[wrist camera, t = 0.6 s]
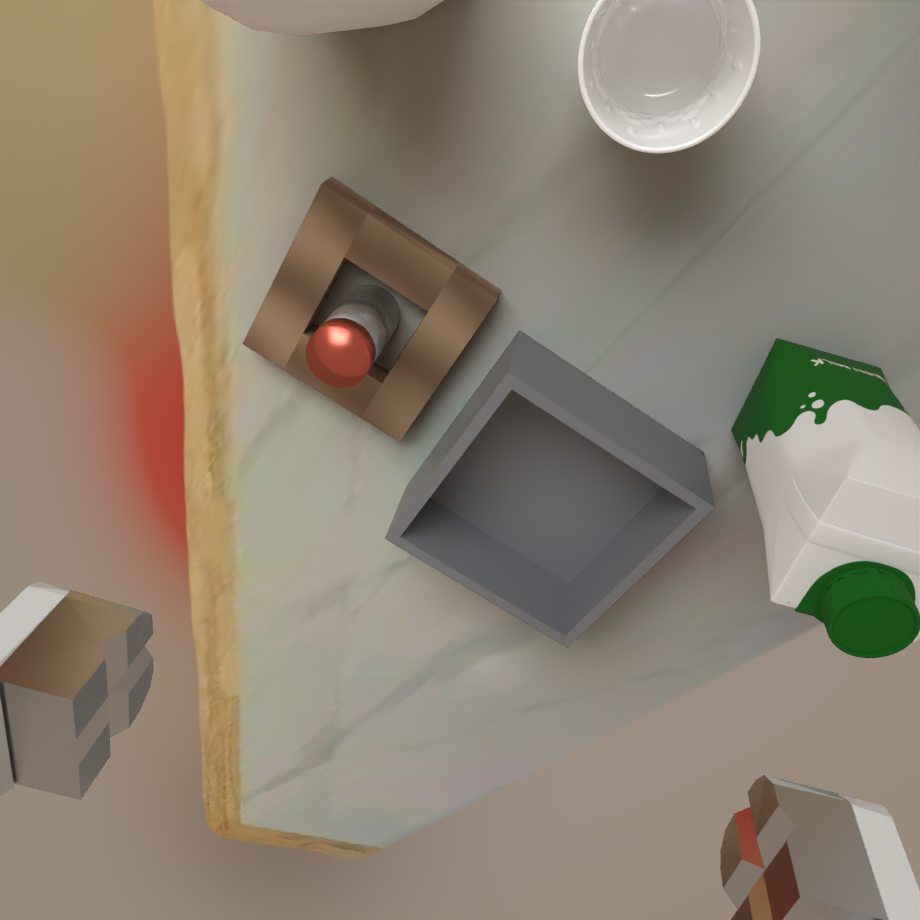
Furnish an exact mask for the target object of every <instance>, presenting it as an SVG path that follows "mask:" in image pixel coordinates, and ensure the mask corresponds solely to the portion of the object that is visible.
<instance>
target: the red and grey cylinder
mask: <svg viewBox="0 0 920 920" xmlns="http://www.w3.org/2000/svg"><path fill="white" fill-rule="evenodd" d="M399 320H400V310H399V307H398V304H397V302H396V300H395V299H394V297H393V296H392V295H391V294H390V293H389V292H388V291H387V290H385V289H383V288H382V287H379V286H376V285H362V286H359V287H357V288H355V289H353V290H352V291H351V292H350V293H349V294H348V295H347V297H346V298H345V299H344V300H343V301H342V302H341V303H340V305H339V306H338V307H337V308H336V309H335V310H334V311H333V312H332V314H331V315H330V316H329V317H328V318H327V319H326V320H325V321H324V323H323V324H322V325H321V326H320V327H319V328H318V329H317V330H316V332H315V333H314V334H313V335H312V336H311V337H310V339H309V341H308V343H307V346H306V359H307V363H308V365H309V367H310V369H311V371H312V372H313V373H314V375H315V376H316V377H317V378H318V379H320V380H321V381H322V382H324V383H326V384H328V385H330V386H333V387H338V388H347V387H351V386H354V385H356V384H358V383H359V382H361V381H362V380H363V379H364V377H365V376H366V374H367V373H368V371H369V370H370V368H371V367H372V365H373V364H374V362H375V361H376V359H377V358H378V356H379V354H380V353H381V351H382V350H383V348H384V347H385V345H386V344H387V342H388V341H389V339H390V338H391V336H392V334H393V333H394V331H395V330H396V328H397V326H398V324H399Z"/></svg>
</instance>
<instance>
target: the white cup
mask: <svg viewBox="0 0 920 920" xmlns="http://www.w3.org/2000/svg"><path fill="white" fill-rule="evenodd" d="M760 48H761V35H760V26H759V20H758V16H757V12H756V9H755V7H754V4H753V2H752V0H599V1H598V2H597V4H596V5H595V7H594V9H593V10H592V12H591V14H590V16H589V18H588V21H587V23H586V25H585V28H584V31H583V34H582V38H581V42H580V47H579V54H578V78H579V85H580V90H581V94H582V97H583V100H584V102H585V105H586V107H587V109H588V111H589V113H590V115H591V116H592V118H593V120H594V121H595V122H596V124H597V125H598V126H599V127H600V128H601V129H602V130H603V131H604V132H605V133H606V134H607V135H608V136H609V137H610V138H612V139H613V140H615V141H616V142H618V143H619V144H621V145H623V146H625V147H628V148H630V149H633V150H636V151H640V152H645V153H671V152H676V151H680V150H684V149H687V148H690V147H692V146H694V145H697V144H699V143H701V142H702V141H704V140H706V139H707V138H709V137H711V136H712V135H713V134H715V133H716V132H717V131H719V130H720V129H721V128H722V127H723V126H724V125H725V124H726V123H727V122H728V121H729V120H730V119H731V118H732V117H733V116H734V114H735V113H736V112H737V110H738V109H739V108H740V106H741V105H742V103H743V102H744V100H745V98H746V96H747V94H748V92H749V90H750V88H751V86H752V83H753V81H754V78H755V75H756V72H757V68H758V63H759V58H760Z"/></svg>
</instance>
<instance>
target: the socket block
mask: <svg viewBox="0 0 920 920" xmlns="http://www.w3.org/2000/svg"><path fill="white" fill-rule="evenodd" d="M347 259H348V260H349V261H351V262H352V263H354V264H355V265H357V266H358V267H360V268H361V269H363V270H365V271H366V272H368V273H369V274H371V275H372V276H374V277H375V278H377V279H378V280H380V281H381V282H383V283H384V284H386V285H387V286H389V287H391V288H392V289H394V290H395V291H397V292H398V293H400V294H401V295H403V296H404V297H406V298H407V299H409V300H410V301H412V302H413V303H415V304H416V305H418V306H420V307H421V308H423V309H424V310H426V311H427V313H426V315H425V317H424V318H423V320H422V321H421V323H420V324H419V326H418V328H417V329H416V331H415V332H414V334H413V335H412V337H411V339H410V340H409V342H408V343H407V345H406V346H405V348H404V350H403V351H402V353H401V354H400V356H399V357H398V359H397V361H396V362H395V364H394V365H393V367H392V368H391V370H390V372H388V371H387V370H385V369H384V368H382V367H381V366H379V365H377V364H376V363H374V364H373V365H372V367H371V368H370V370H369V371H368V373H367V374H366V376H365V377H364V379H363V380H362V381H361V382H359V383H358V384H356V385H354V386H351V387H347V388H338V387H333V386H330V385H328V384H326V383H324V382H322V381H321V380H320V379H318V378H317V377H316V376H315V375H314V373H313V372H312V371H311V369H310V367H309V365H308V363H307V359H306V346H307V343H308V341H309V339H310V337H311V336H312V335H313V334H314V333H315V332H316V330H317V329H318V328H319V327H318V326H316V325H314V324H313V321H314V319H315V317H316V316H317V314H318V312H319V310H320V308H321V306H322V305H323V303H324V301H325V299H326V297H327V295H328V294H329V292H330V290H331V288H332V286H333V284H334V283H335V281H336V279H337V277H338V275H339V273H340V272H341V270H342V268H343V266H344V264H345V262H346V260H347ZM500 291H501V290H500V289H498V288H497V287H495V286H494V285H492V284H491V283H489V282H488V281H486V280H485V279H483V278H482V277H480V276H479V275H477V274H476V273H474V272H473V271H471V270H470V269H468V268H467V267H465V266H464V265H462V264H461V263H459V262H458V261H456V260H455V259H453V258H452V257H450V256H449V255H447V254H446V253H444V252H443V251H441V250H440V249H438V248H437V247H435V246H434V245H432V244H431V243H430V242H428V241H427V240H425V239H424V238H422V237H421V236H419V235H418V234H416V233H415V232H413V231H412V230H410V229H409V228H407V227H406V226H404V225H403V224H401V223H400V222H398V221H397V220H395V219H394V218H392V217H391V216H389V215H388V214H386V213H385V212H383V211H382V210H380V209H379V208H377V207H376V206H374V205H373V204H371V203H370V202H368V201H367V200H365V199H364V198H362V197H361V196H359V195H358V194H356V193H355V192H354V191H352V190H351V189H349V188H348V187H346V186H345V185H343V184H342V183H340V182H339V181H337V180H336V179H334V178H333V177H331V178H329V179H328V180H326V181H325V182H323V183H322V184H321V186H320V188H319V190H318V192H317V194H316V196H315V198H314V200H313V202H312V204H311V206H310V208H309V210H308V212H307V214H306V216H305V218H304V220H303V222H302V224H301V226H300V229H299V231H298V233H297V235H296V237H295V239H294V241H293V243H292V245H291V247H290V249H289V251H288V253H287V255H286V257H285V259H284V261H283V263H282V265H281V267H280V269H279V271H278V273H277V275H276V277H275V279H274V281H273V283H272V285H271V287H270V289H269V291H268V293H267V295H266V297H265V299H264V301H263V303H262V305H261V307H260V309H259V311H258V313H257V316H256V318H255V320H254V322H253V324H252V326H251V328H250V330H249V332H248V334H247V336H246V338H245V340H244V342H243V344H244V345H245V346H247V347H248V348H250V349H252V350H253V351H255V352H256V353H258V354H260V355H261V356H263V357H265V358H266V359H268V360H269V361H271V362H273V363H274V364H276V365H277V366H279V367H281V368H282V369H284V370H285V371H287V372H289V373H290V374H292V375H293V376H295V377H297V378H298V379H300V380H302V381H303V382H305V383H306V384H308V385H310V386H311V387H313V388H314V389H316V390H318V391H319V392H321V393H322V394H324V395H326V396H327V397H329V398H331V399H332V400H334V401H335V402H337V403H339V404H340V405H342V406H343V407H345V408H347V409H348V410H350V411H351V412H353V413H355V414H356V415H358V416H360V417H361V418H363V419H364V420H366V421H368V422H369V423H371V424H372V425H374V426H376V427H377V428H379V429H380V430H382V431H384V432H385V433H387V434H388V435H390V436H392V437H393V438H395V439H397V440H398V441H400V440H401V439H402V438H403V436H404V435H405V433H406V432H407V430H408V429H409V427H410V426H411V424H412V423H413V422H414V420H415V419H416V417H417V416H418V414H419V413H420V411H421V410H422V408H423V407H424V406H425V404H426V403H427V401H428V400H429V398H430V397H431V395H432V394H433V392H434V391H435V390H436V388H437V387H438V385H439V384H440V382H441V381H442V379H443V378H444V376H445V375H446V374H447V372H448V371H449V369H450V368H451V366H452V365H453V363H454V362H455V360H456V359H457V358H458V356H459V355H460V353H461V352H462V350H463V349H464V347H465V346H466V344H467V343H468V342H469V340H470V339H471V337H472V336H473V334H474V333H475V331H476V330H477V329H478V327H479V326H480V324H481V323H482V321H483V320H484V318H485V317H486V315H487V314H488V313H489V311H490V310H491V308H492V307H493V305H494V304H495V302H496V301H497V299H498V296H499V293H500Z"/></svg>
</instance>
